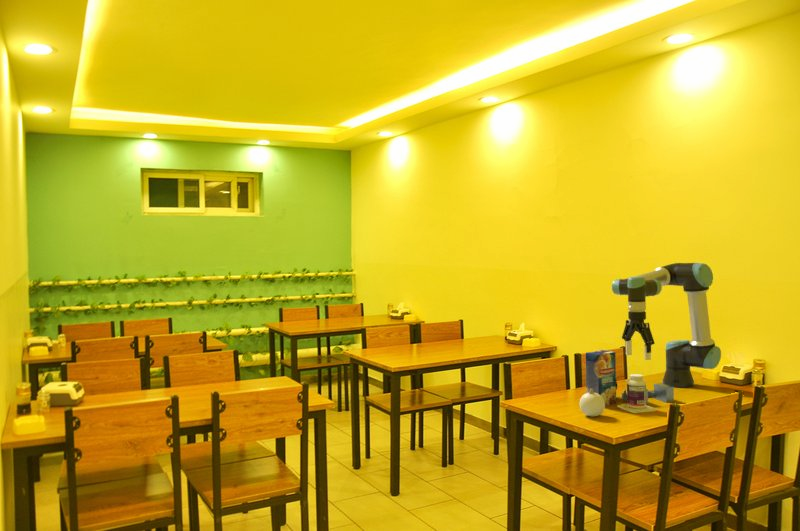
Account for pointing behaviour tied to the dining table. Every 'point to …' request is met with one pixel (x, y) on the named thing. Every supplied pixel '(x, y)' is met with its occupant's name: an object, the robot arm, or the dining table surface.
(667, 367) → the robot arm
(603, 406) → the ornament
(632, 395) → the pill bottle
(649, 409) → the trivet
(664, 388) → the vise
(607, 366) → the cereal box
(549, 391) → the dining table surface
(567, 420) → the dining table surface
